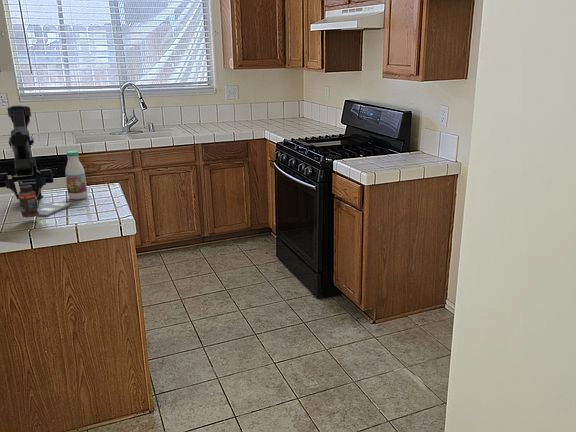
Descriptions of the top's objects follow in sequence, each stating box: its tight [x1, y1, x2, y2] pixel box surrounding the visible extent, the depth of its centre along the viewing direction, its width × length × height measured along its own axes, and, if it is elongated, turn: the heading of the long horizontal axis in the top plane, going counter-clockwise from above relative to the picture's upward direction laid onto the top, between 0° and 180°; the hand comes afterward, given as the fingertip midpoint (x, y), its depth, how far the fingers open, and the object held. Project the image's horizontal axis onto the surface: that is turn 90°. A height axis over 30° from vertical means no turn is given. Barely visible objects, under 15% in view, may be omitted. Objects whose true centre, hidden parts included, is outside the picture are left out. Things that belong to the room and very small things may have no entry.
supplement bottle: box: [17, 185, 39, 219], centre depth 187 cm, size 6×6×11 cm
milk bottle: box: [64, 150, 88, 200], centre depth 217 cm, size 8×8×20 cm
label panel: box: [36, 201, 73, 218], centre depth 202 cm, size 10×16×1 cm, turn 167°
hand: (27, 197), depth 185 cm, fingers closed on supplement bottle, 6 cm apart
